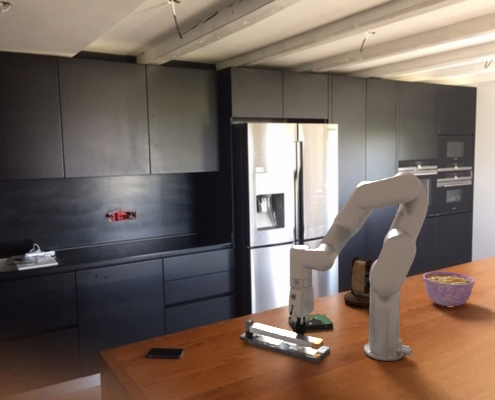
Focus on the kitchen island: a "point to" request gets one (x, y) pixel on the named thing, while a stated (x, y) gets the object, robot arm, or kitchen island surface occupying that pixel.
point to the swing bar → (282, 335)
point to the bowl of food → (448, 287)
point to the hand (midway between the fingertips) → (300, 333)
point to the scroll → (359, 283)
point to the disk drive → (315, 322)
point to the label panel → (287, 347)
